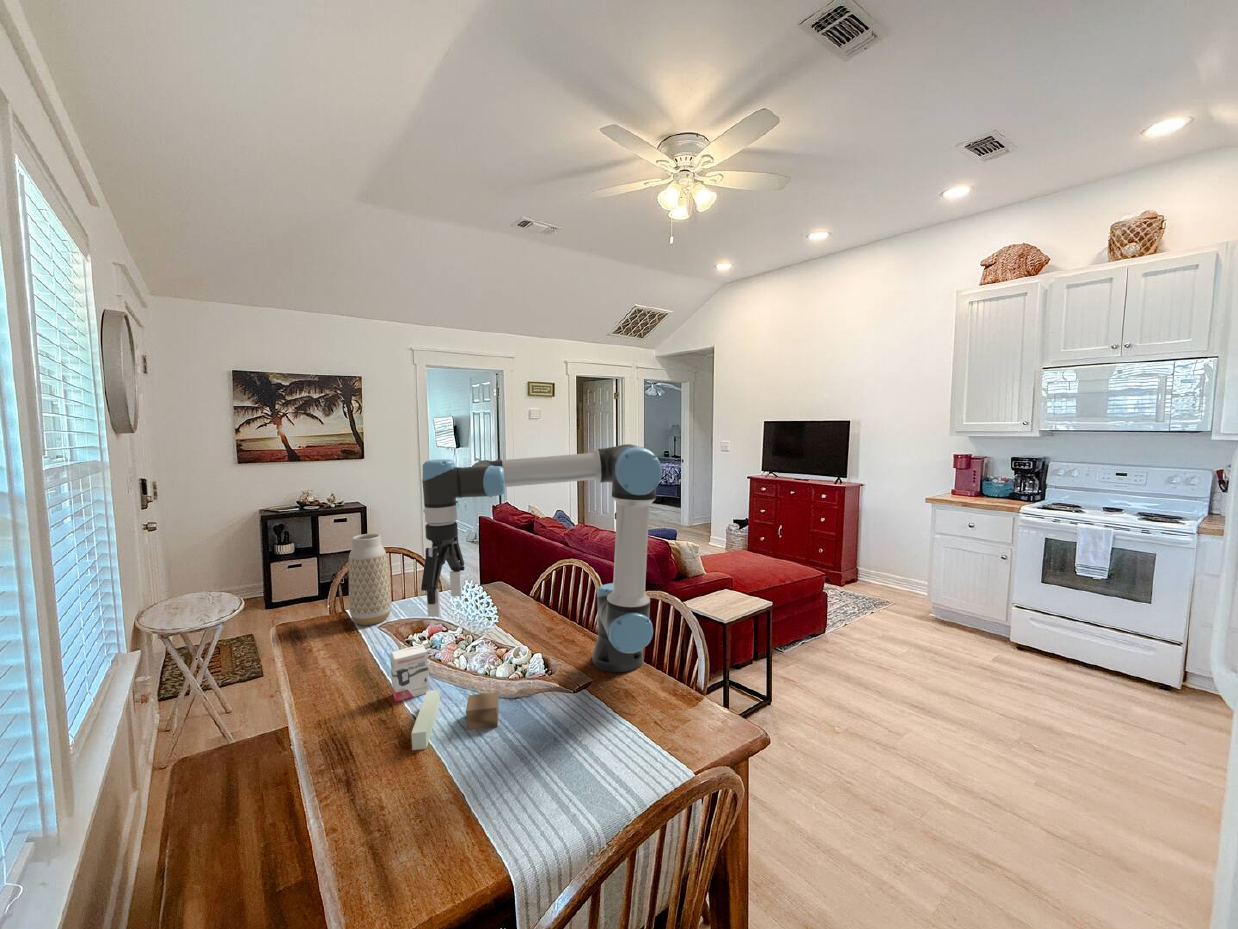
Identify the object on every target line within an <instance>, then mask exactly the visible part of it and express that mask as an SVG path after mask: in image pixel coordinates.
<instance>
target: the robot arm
mask: <svg viewBox="0 0 1238 929" xmlns="http://www.w3.org/2000/svg"><path fill="white" fill-rule="evenodd" d="M662 475H663V470H662V465H661V462H660V459H659V458H658V457H657V455H655V454H654V453H653V452H652V451H651V450H649V449H648V448H647V447H646V448H645V447H643V446H639V445H634V444H626V443H625V444H621V445H620V444H619V445H616V446H615V445H614V446H610V447H603V448H595V449H594V450H593V451H592V452H588V453H577V454H562V455H550V456H549V455H548V456H537V457H523V458H512V459H499V460H488V459H485V460H482V459H481V460H478V461H477V462H475V463H474V464H472V466H465V467H462V466H461V467H458V466H456V465H455V462H454V460H452V459H447V458H446V459H430V460H426V461H425V462H423V464H422V479H421V482H422V492H423V494H422V495H423V507H424V509H423V510H422V511H423V513H424V522H425V523H426V524H425V529H424V530H425V538H426V540H428V541H430V542H431V543H432V544H431V547H426V548H425V560H424V566H423V574H422V579H421V586H420V590H421V591H423V592H425V591H426V603H427V617H432V618H433V617H437V618H438V617H441V606H440V589H439V588H438V585H439V580H440V577H441V572H442V569H443V565H445V564H446V563H447V564H448V566H449V568H450V570H451V571H450V572H449V583H450V597H462V596H463V586H462V584H463V583H462V571H465V562H464V558H463V554H462V551H461V546H460V544H459V537H458V536H459V532H458V530H459V528H458V523H457V520H458V511H457V509H458V508H457V507H458V506H457V499H460V498H478V497H479V498H480V497H481V498H482V497H484V498H485V497H489V498H492V497H496V496H497V497H498V496H502V495H504V494H505V491H506V490H505V488H509V487H520V486H521V487H524V486H531V485H532V486H533V485H534V486H535V485H543V484H544V485H546V484H558V483H569V482H581V481H592V480H594V481H596V482H597V483H599V484H601V483H611V498H612V499H613V500H614V501H615V503H616V517H615V518H616V520H615V522H616V523H615V538H614V542H615V543H614V559H613V560H614V561H613V581H612V582H611V583H606V584H602V585H600V586H599V587H597V588H598V589H597V591H596V592H597V593H596V598H597V638H596V642H595V643H594V648H593V650H592V664H593V665H594V666H595V667H596V668H597V669H598V670H599V669H600V670H602V671H605V672H609V673H625V672H631V671H634V670H636V669H638V668H639V667H641V666H642V665H643V664H644V648H645V647H647V646H648V645H649V644H650V643H651V640H652V639H653V637H654V636H653V634H654V628H653V623H652V620H651V619H650V613H651V612H650V609H651V598H650V597H649V596H648V594H646V578H647V574H646V573H647V560H648V557H647V556H648V542H649V541H648V540H649V522H650V505H651V504H652V503H653V502H654V501H655V500H656V497H657V496H656V495H657V488H658V486H659V484H660V482H661V479H662V477H663V476H662Z"/></svg>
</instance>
